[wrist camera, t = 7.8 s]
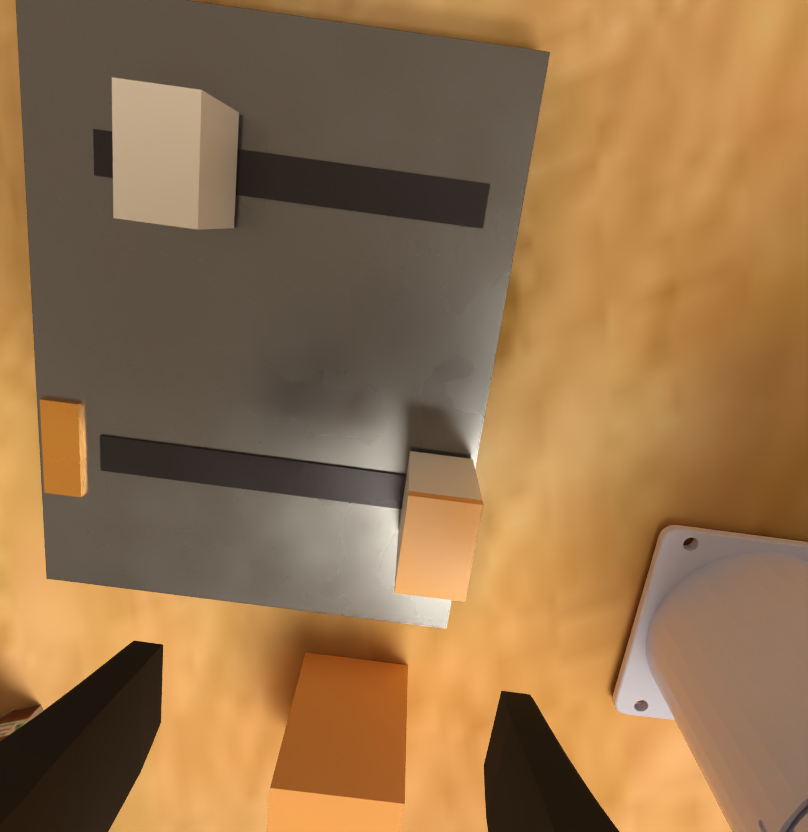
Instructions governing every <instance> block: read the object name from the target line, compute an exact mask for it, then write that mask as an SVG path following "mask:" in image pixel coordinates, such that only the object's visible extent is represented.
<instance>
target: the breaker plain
mask: <svg viewBox="0 0 808 832" xmlns="http://www.w3.org/2000/svg"><path fill="white" fill-rule="evenodd" d="M238 127H239V112H237V111H236V110H234V109H232V108H231V107H229V106H227V105H226V104H224V103H222V102H221V101H219V100H217V99H216V98H214V97H213V96H211V95H209V94H208V93H206V92H204V91H203V90H199V89H192V88H185V87H178V86H170V85H163V84H156V83H149V82H142V81H135V80H128V79H120V78H113V77H112V142H113V218H116V219H124V220H131V221H138V222H146V223H153V224H160V225H168V226H175V227H182V228H190V229H197V230H200V229H227V228H234V217H235V195H236V172H237V149H238Z"/></svg>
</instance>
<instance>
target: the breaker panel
mask: <svg viewBox="0 0 808 832" xmlns="http://www.w3.org/2000/svg"><path fill="white" fill-rule="evenodd" d="M16 14H17V33H18V51H19V70H20V89H21V108H22V126H23V145H24V164H25V182H26V201H27V220H28V238H29V257H30V276H31V295H32V313H33V332H34V351H35V369H36V388H37V407H38V425H39V444H40V463H41V482H42V500H43V519H44V538H45V556H46V575H47V579H55V580H63V581H71V582H79V583H86V584H94V585H102V586H110V587H118V588H126V589H134V590H142V591H150V592H158V593H166V594H174V595H182V596H190V597H198V598H206V599H214V600H222V601H230V602H238V603H246V604H254V605H261V606H269V607H277V608H285V609H293V610H301V611H309V612H317V613H325V614H333V615H341V616H349V617H357V618H365V619H373V620H381V621H389V622H397V623H405V624H413V625H421V626H429V627H436V628H444V629H447V623H448V618H449V612H450V607H451V601H452V600H445V599H437V598H429V597H422V596H414V595H406V594H398V593H394V588H395V573H396V558H397V543H398V532H399V525H400V518H401V511H402V504H403V497H404V490H405V483H406V476H407V469H408V462H409V455H410V451H414V452H422V453H430V454H437V455H445V456H453V457H460V458H468V459H473V462H474V466H475V467H476V462H477V456H478V451H479V445H480V439H481V434H482V428H483V423H484V417H485V411H486V406H487V400H488V395H489V389H490V384H491V378H492V372H493V367H494V361H495V356H496V350H497V345H498V339H499V333H500V328H501V322H502V317H503V311H504V305H505V300H506V294H507V289H508V283H509V278H510V272H511V266H512V261H513V255H514V250H515V244H516V239H517V233H518V227H519V222H520V216H521V211H522V205H523V200H524V194H525V188H526V183H527V177H528V172H529V166H530V160H531V155H532V149H533V144H534V138H535V133H536V127H537V121H538V116H539V110H540V105H541V99H542V94H543V88H544V82H545V77H546V71H547V66H548V60H549V55H550V52H546V51H539V50H532V49H525V48H518V47H511V46H504V45H497V44H490V43H483V42H476V41H469V40H462V39H455V38H448V37H441V36H434V35H427V34H420V33H413V32H406V31H399V30H392V29H385V28H378V27H371V26H364V25H357V24H350V23H343V22H336V21H329V20H322V19H315V18H308V17H301V16H294V15H287V14H280V13H273V12H266V11H259V10H252V9H245V8H238V7H231V6H224V5H217V4H210V3H203V2H196V1H189V0H16ZM112 77H113V78H120V79H128V80H135V81H142V82H149V83H156V84H163V85H170V86H178V87H185V88H192V89H199V90H203V91H204V92H206V93H208V94H209V95H211V96H213V97H214V98H216V99H217V100H219V101H221V102H222V103H224V104H226V105H227V106H229V107H231V108H232V109H234V110H236V111H237V112H239V127H238V149H237V172H236V195H235V217H234V228H227V229H200V230H197V229H190V228H182V227H175V226H168V225H160V224H153V223H146V222H138V221H131V220H124V219H116V218H113V142H112Z"/></svg>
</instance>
